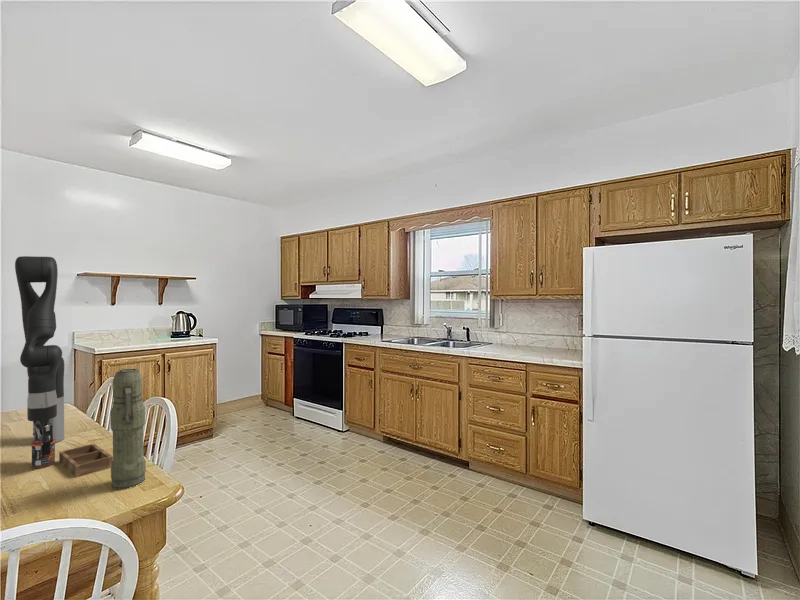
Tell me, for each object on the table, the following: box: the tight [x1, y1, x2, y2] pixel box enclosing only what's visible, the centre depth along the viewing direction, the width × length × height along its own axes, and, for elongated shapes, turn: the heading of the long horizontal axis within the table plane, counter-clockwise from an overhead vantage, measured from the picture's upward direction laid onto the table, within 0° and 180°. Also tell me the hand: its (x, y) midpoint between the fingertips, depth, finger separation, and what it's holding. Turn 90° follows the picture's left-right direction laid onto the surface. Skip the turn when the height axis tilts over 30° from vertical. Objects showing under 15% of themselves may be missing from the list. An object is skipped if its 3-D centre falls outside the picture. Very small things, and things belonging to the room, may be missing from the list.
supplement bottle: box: [31, 433, 56, 469], centre depth 138 cm, size 6×6×11 cm
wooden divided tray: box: [58, 443, 113, 478], centre depth 139 cm, size 19×10×4 cm, turn 52°
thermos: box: [110, 368, 147, 490], centre depth 125 cm, size 9×12×35 cm
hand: (42, 452), depth 138 cm, fingers open, 8 cm apart
